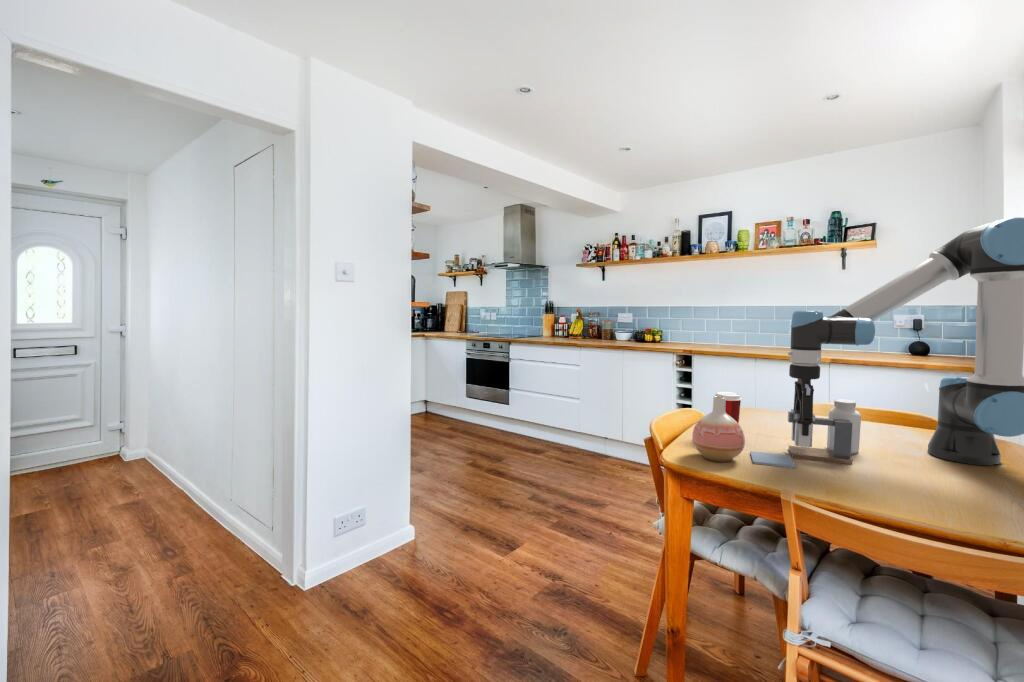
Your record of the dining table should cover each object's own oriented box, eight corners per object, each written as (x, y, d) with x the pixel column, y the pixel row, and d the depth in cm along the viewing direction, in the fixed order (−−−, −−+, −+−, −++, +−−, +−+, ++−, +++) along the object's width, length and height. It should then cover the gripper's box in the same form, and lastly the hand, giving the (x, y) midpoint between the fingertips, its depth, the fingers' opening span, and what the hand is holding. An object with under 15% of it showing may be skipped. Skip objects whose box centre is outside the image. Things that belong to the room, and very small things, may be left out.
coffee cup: (734, 436, 158) (736, 391, 156) (744, 443, 149) (746, 396, 148) (708, 435, 158) (710, 391, 157) (716, 442, 150) (718, 395, 149)
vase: (683, 458, 134) (685, 397, 133) (702, 448, 144) (704, 391, 143) (734, 470, 125) (736, 404, 124) (750, 458, 135) (753, 396, 134)
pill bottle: (830, 452, 141) (832, 402, 139) (824, 445, 148) (826, 397, 147) (862, 455, 138) (865, 404, 136) (854, 447, 145) (857, 399, 144)
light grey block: (808, 440, 140) (810, 410, 140) (813, 447, 134) (815, 415, 133) (789, 438, 142) (790, 409, 142) (793, 445, 136) (794, 414, 135)
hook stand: (843, 454, 138) (845, 413, 137) (852, 464, 130) (854, 420, 129) (784, 449, 144) (786, 409, 143) (789, 457, 135) (791, 415, 135)
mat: (789, 457, 136) (789, 455, 136) (795, 468, 127) (795, 466, 127) (750, 453, 140) (750, 451, 140) (753, 463, 130) (753, 461, 130)
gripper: (784, 360, 147) (781, 432, 149) (795, 367, 128) (792, 450, 130) (812, 361, 144) (809, 435, 146) (828, 369, 126) (824, 454, 127)
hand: (801, 442), depth 138 cm, fingers closed on light grey block, 7 cm apart
